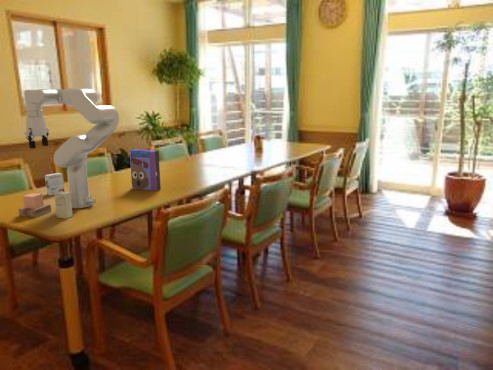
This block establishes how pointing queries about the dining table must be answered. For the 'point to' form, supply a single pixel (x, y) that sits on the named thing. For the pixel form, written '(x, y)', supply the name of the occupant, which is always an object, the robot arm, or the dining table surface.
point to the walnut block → (35, 211)
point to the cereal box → (145, 169)
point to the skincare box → (63, 204)
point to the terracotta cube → (33, 200)
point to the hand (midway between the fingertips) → (39, 147)
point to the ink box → (54, 183)
